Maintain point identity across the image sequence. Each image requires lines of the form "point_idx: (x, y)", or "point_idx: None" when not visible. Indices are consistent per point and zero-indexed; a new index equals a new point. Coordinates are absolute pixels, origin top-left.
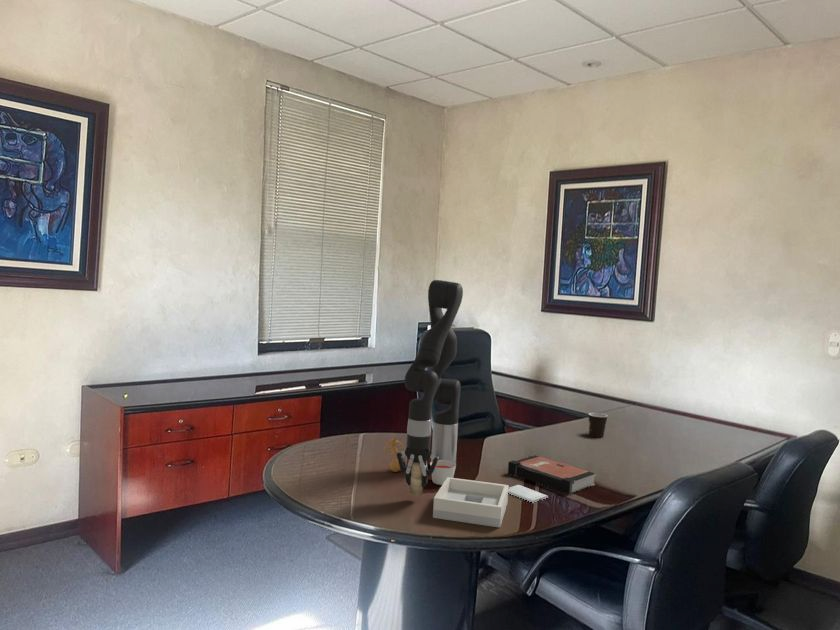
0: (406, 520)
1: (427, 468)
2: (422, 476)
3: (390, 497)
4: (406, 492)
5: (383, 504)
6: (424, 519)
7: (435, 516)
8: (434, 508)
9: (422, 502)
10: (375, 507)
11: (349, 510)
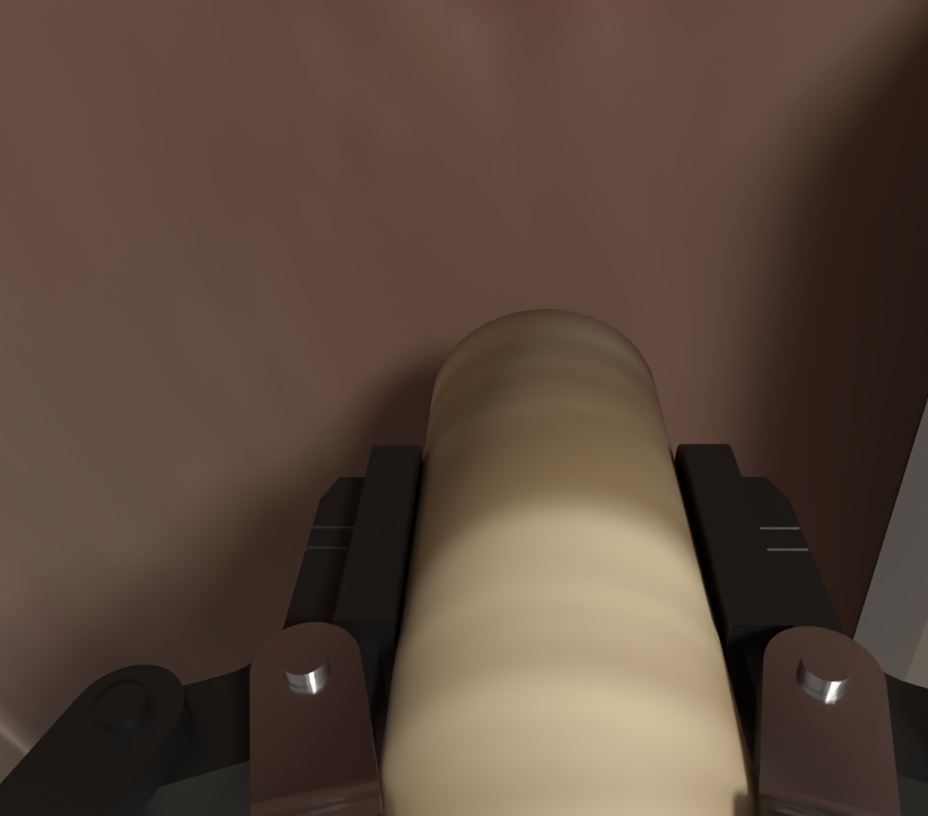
0: None
1: (895, 778)
2: None
3: (151, 348)
4: (264, 24)
5: (204, 567)
6: None
7: None
8: None
9: (652, 355)
10: (175, 651)
11: (14, 756)
